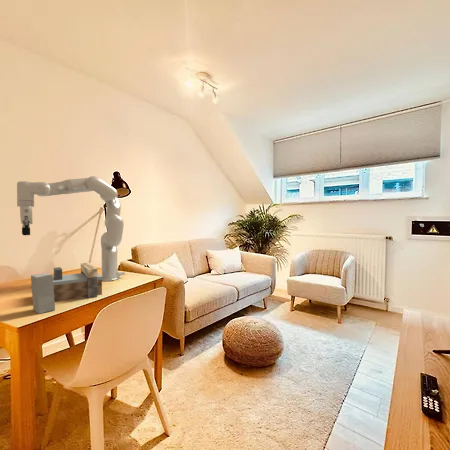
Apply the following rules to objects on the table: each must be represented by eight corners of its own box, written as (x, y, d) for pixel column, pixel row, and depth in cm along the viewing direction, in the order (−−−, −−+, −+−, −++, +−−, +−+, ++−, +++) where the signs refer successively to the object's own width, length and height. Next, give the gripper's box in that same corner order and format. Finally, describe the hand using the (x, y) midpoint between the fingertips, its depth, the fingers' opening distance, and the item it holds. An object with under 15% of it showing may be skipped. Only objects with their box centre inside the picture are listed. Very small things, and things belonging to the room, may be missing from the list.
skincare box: (55, 310, 113) (55, 274, 113) (35, 314, 108) (35, 276, 107) (49, 306, 119) (49, 271, 118) (30, 310, 113) (30, 273, 113)
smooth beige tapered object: (88, 269, 152) (88, 262, 151) (97, 276, 132) (97, 268, 132) (80, 270, 149) (80, 263, 149) (88, 277, 130) (88, 269, 130)
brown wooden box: (94, 286, 153) (94, 268, 153) (103, 296, 135) (103, 275, 135) (40, 293, 137) (40, 274, 137) (42, 305, 119) (42, 282, 119)
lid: (95, 275, 150) (95, 263, 150) (101, 281, 138) (101, 267, 137) (40, 282, 135) (40, 267, 134) (41, 288, 122) (41, 272, 122)
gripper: (35, 203, 140) (35, 235, 141) (32, 204, 153) (33, 233, 154) (17, 203, 135) (17, 235, 136) (16, 204, 149) (17, 234, 149)
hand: (26, 234), depth 145 cm, fingers open, 9 cm apart
